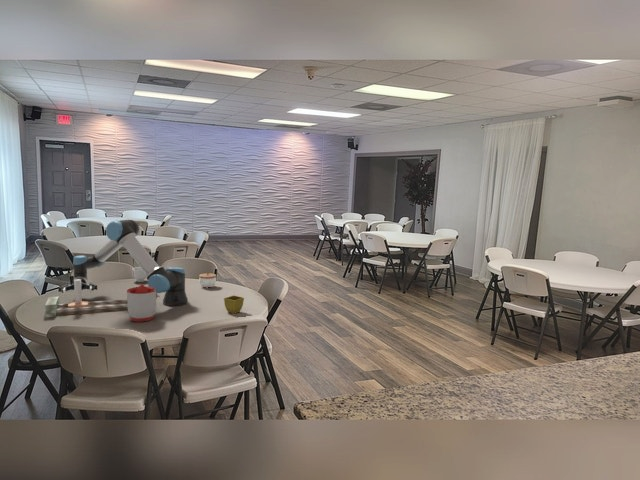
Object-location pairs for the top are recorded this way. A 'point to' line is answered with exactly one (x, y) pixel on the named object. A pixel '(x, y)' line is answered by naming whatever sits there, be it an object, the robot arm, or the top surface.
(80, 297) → the carriage
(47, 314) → the rail
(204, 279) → the lidded bowl
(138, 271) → the teacup
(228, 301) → the flower pot
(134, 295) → the citrus juicer
